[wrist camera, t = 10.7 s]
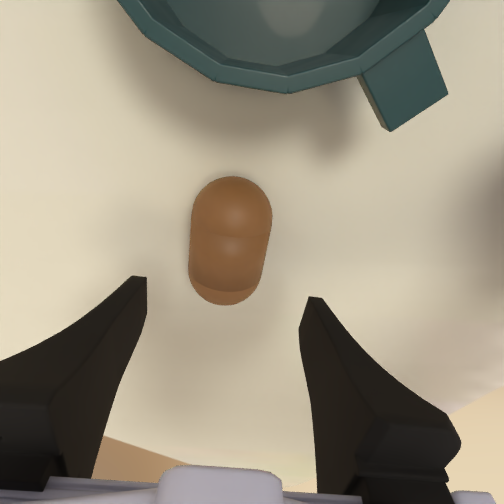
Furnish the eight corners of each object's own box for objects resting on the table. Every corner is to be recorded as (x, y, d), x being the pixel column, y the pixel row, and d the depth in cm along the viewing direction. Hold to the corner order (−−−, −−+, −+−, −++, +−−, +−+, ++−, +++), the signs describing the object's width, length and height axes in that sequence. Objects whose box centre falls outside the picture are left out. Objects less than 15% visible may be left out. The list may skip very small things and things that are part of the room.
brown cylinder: (255, 280, 24) (256, 325, 20) (191, 272, 24) (180, 316, 20) (276, 171, 20) (283, 202, 16) (200, 160, 20) (187, 188, 16)
